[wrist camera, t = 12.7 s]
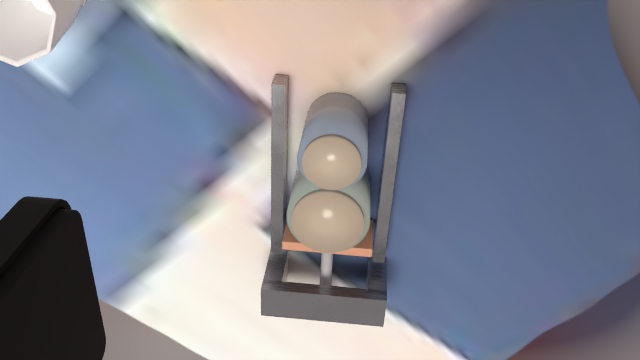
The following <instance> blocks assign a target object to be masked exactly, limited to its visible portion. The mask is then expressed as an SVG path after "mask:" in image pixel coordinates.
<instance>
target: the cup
mask: <svg viewBox="0 0 640 360" xmlns="http://www.w3.org/2000/svg"><path fill="white" fill-rule="evenodd" d="M85 4H86V0H0V60H1V61H4V62H6V63H9V64H11V65H14V66H16V67H18V66H20V65H23V64H25V63H27V62H29V61H32V60H34V59H36V58H39V57H41V56H43V55H46V54H48V53H50V52H51V51H52V49H53V48H54V47H55V46H56V44H57V43H58V42H59V40H60V39H61V38H62V36H63V35H64V34H65V33H66V31H67V30H68V29H69V28H70V27H71V25H72V24H73V23H74V20H75V18H76V16H77V14H78V12H79V10H80V7H81V6H84V5H85Z"/></svg>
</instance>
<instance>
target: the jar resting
mask: <svg viewBox="0 0 640 360" xmlns="http://www.w3.org/2000/svg"><path fill="white" fill-rule="evenodd" d="M370 199H371V178H370V174H369V172H368V169H367V168H366V170H365V173H364V175H363V176H362V177H361V179H360V180H359V181H358V182H356V183H355V184H354V185H352V186H350V187H348V188H345V189H341V190H326V189H322V188H319V187H317V186H315V185H313V184H311V183H310V182H309V181H308V180H306V178H305V177H304V176H303V175H302V173H301V171H300V169H299V167H298V169H297V171H296V175H295V179H294V184H293V188H292V192H291V196H290V201H289V205H288V209H287V223H288V227H289V229H290V231H291V233H292V234H293V236H294V237H295V238H296V239H297V240H298V241H299V242H300V243H302V244H303V245H305V246H306V247H308V248H311V249H313V250H316V251H319V252H325V253H335V252H341V251H344V250H347V249H350V248H352V247H354V246H355V245H357V244H358V243H359V242H360V241H361V240H362V239H363V238H364V237H365V235H366V234H367V232H368V229H369V225H370Z"/></svg>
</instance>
